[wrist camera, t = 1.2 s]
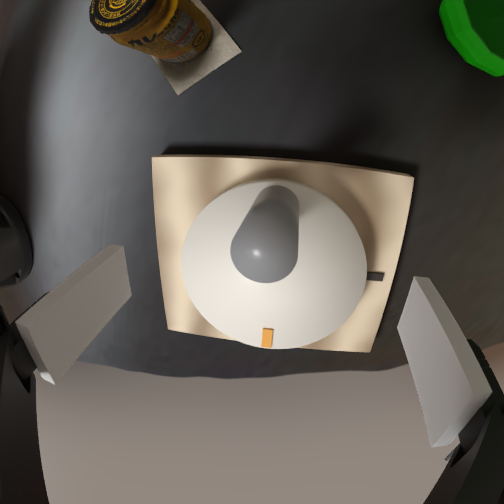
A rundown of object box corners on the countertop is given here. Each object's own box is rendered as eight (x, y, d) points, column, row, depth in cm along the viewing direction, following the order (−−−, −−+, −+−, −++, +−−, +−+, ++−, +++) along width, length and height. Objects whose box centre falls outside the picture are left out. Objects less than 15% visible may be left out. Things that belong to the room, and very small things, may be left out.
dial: (193, 325, 33) (157, 398, 23) (185, 173, 26) (118, 207, 16) (344, 342, 31) (352, 424, 21) (377, 189, 24) (423, 234, 14)
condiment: (196, -4, 20) (139, -57, 10) (242, 52, 23) (201, 7, 12) (139, 39, 23) (62, 13, 12) (179, 95, 25) (106, 85, 14)
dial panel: (174, 319, 36) (167, 330, 34) (160, 154, 28) (150, 157, 26) (367, 341, 33) (370, 354, 31) (407, 173, 25) (415, 178, 23)
